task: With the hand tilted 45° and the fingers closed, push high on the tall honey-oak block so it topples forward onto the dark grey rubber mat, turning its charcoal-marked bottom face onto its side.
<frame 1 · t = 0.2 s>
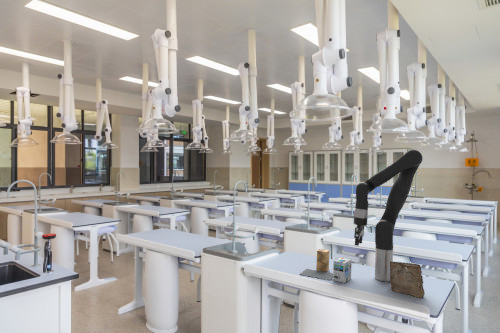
hand: (358, 244, 191), 18 cm above the lab bench, tool pointing down, fingers open, 8 cm apart
light bulb box: (342, 279, 182), on the lab bench
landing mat: (317, 274, 189), on the lab bench
oak block: (322, 270, 198), on the lab bench
mineral sample: (405, 293, 163), on the lab bench
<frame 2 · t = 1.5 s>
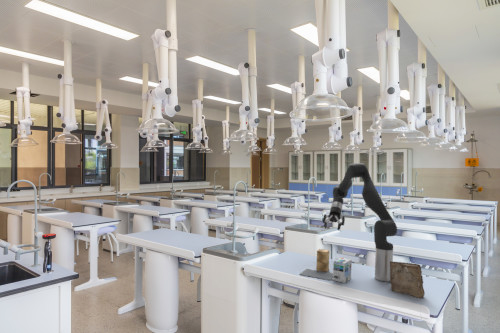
hand: (331, 228, 217), 22 cm above the lab bench, tool tilted 45°, fingers open, 8 cm apart
nothing on the lab bench moved.
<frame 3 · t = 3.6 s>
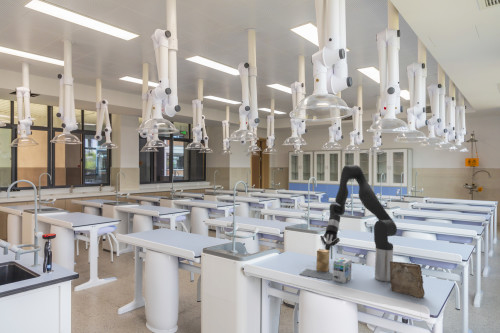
hand: (327, 250, 207), 10 cm above the lab bench, tool tilted 45°, fingers closed
nothing on the lab bench moved.
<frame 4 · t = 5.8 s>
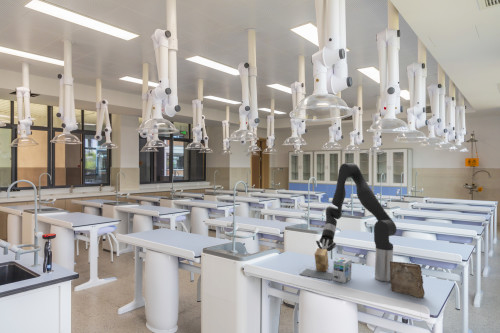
hand: (323, 255, 198), 9 cm above the lab bench, tool tilted 45°, fingers closed
oak block: (322, 268, 198), point 1 cm above the lab bench, tilted 24°, touching gripper
everything else where it was.
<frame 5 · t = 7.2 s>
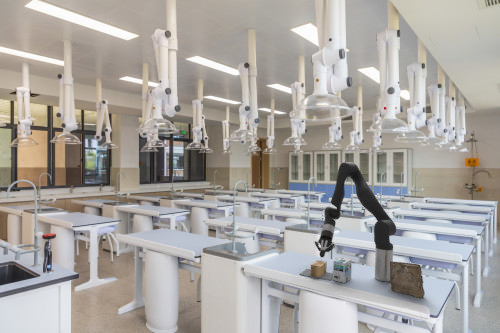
hand: (321, 256, 195), 9 cm above the lab bench, tool tilted 45°, fingers closed
oak block: (321, 265, 195), point 3 cm above the lab bench, tilted 90°, touching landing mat
everything else where it was.
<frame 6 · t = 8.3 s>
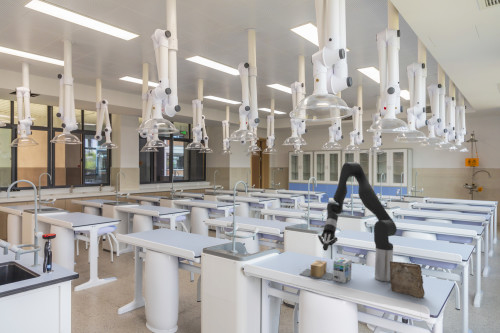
hand: (324, 249, 202), 12 cm above the lab bench, tool tilted 45°, fingers closed
nothing on the lab bench moved.
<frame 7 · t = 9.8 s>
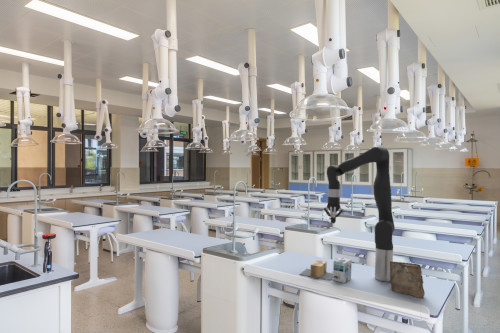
hand: (333, 223, 211), 27 cm above the lab bench, tool pointing down, fingers closed
nothing on the lab bench moved.
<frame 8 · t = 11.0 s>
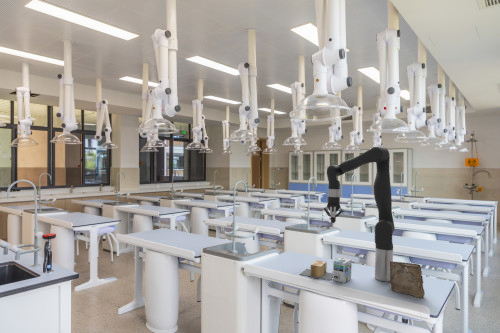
hand: (333, 222, 211), 27 cm above the lab bench, tool pointing down, fingers closed
nothing on the lab bench moved.
at the end: oak block tilted 90°; oak block inside the target area (1.1 cm from its centre), point 3.3 cm above the lab bench; oak block touching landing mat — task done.
